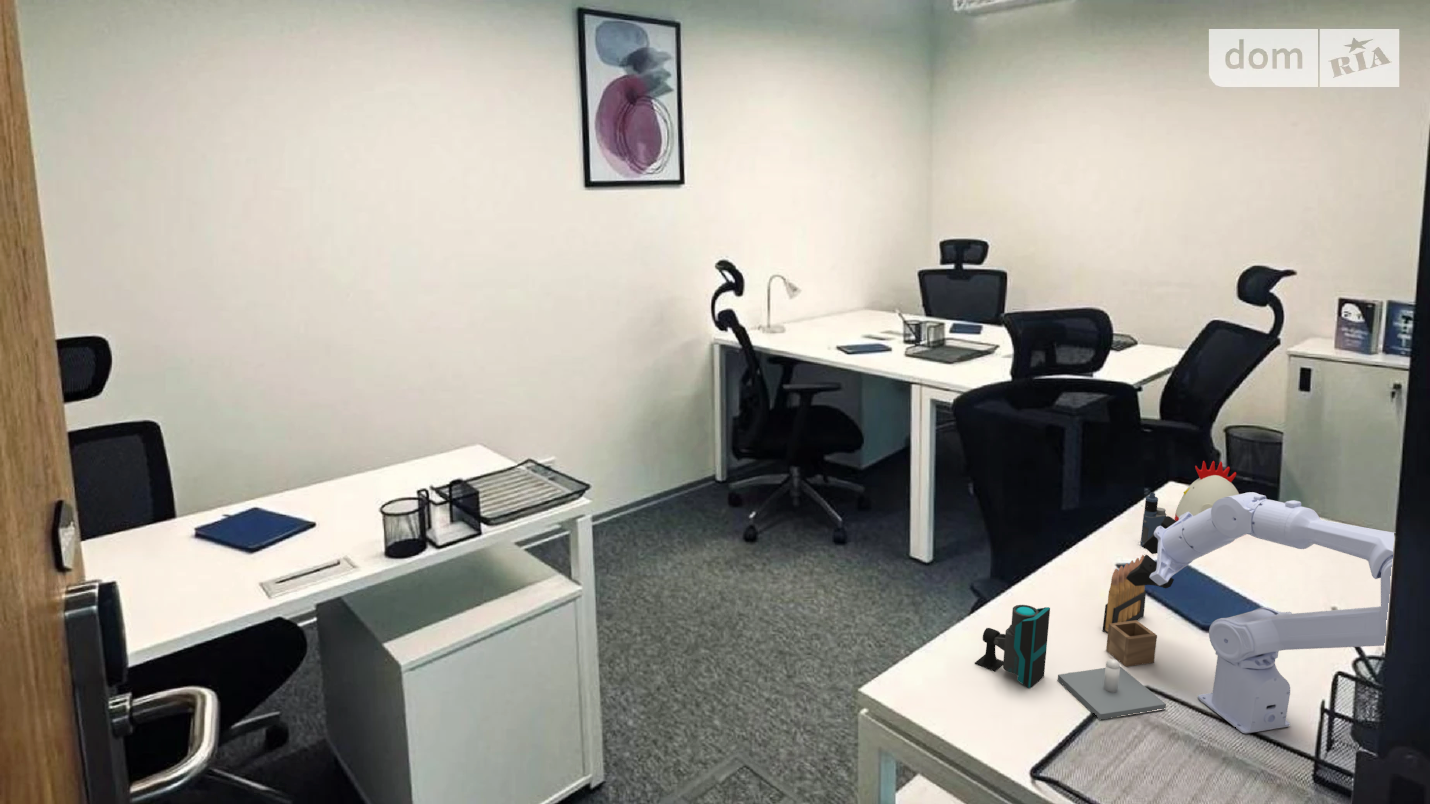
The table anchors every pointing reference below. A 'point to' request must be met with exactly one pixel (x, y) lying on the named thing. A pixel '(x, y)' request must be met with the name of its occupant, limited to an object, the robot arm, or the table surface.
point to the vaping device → (1151, 517)
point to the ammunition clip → (1124, 597)
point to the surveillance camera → (1020, 645)
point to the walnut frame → (1131, 643)
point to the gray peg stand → (1110, 691)
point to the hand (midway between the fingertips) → (1139, 564)
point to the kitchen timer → (1206, 490)
